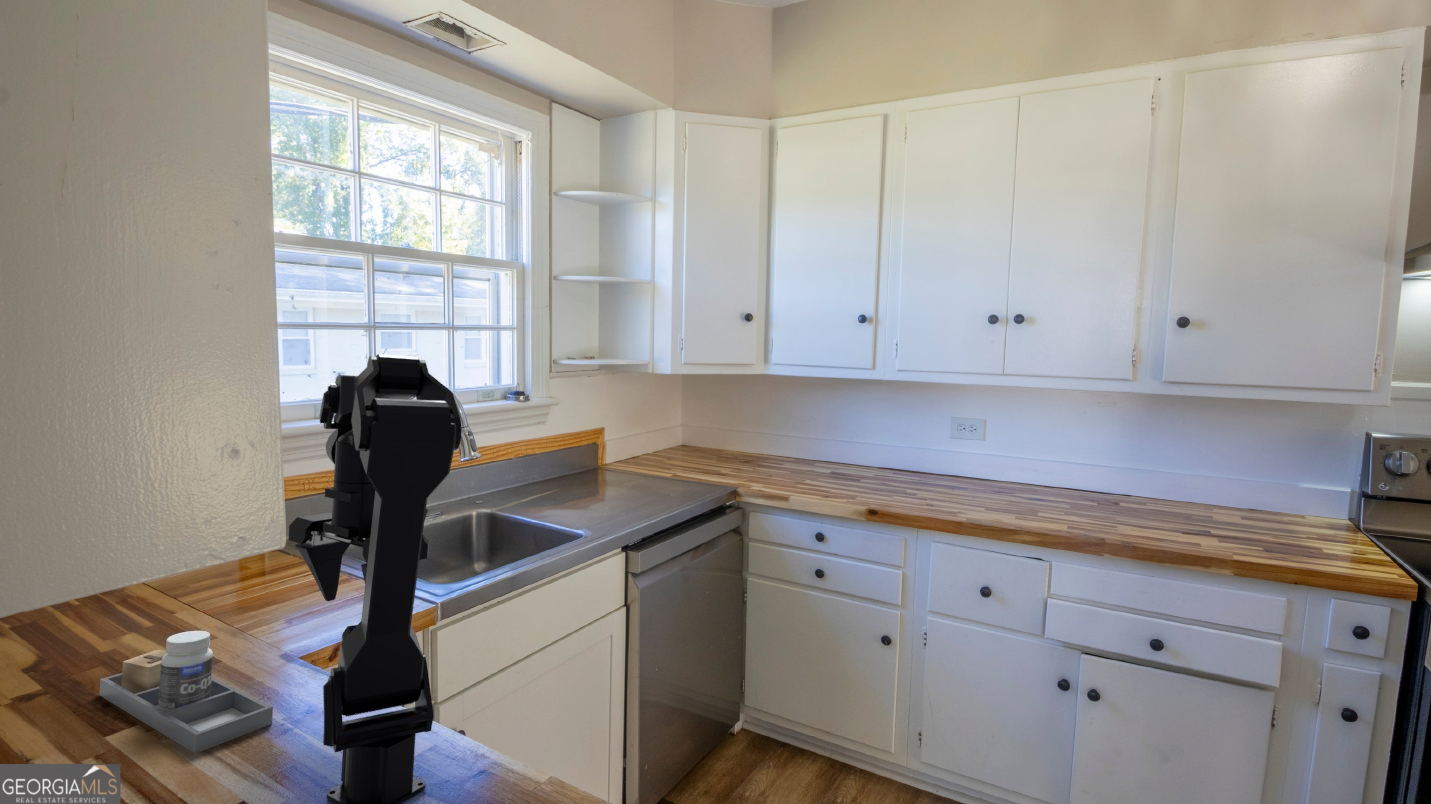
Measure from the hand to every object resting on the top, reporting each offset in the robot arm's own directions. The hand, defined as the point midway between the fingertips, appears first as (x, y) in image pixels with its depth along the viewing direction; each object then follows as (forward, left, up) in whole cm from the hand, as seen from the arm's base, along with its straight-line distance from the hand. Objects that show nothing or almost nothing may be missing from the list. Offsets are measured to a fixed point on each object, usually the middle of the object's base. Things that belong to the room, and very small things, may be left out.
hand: (353, 608), depth 83 cm
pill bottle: (+12, +12, -11) cm, 20 cm away
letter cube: (+19, +12, -11) cm, 25 cm away
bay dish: (+12, +12, -12) cm, 21 cm away
